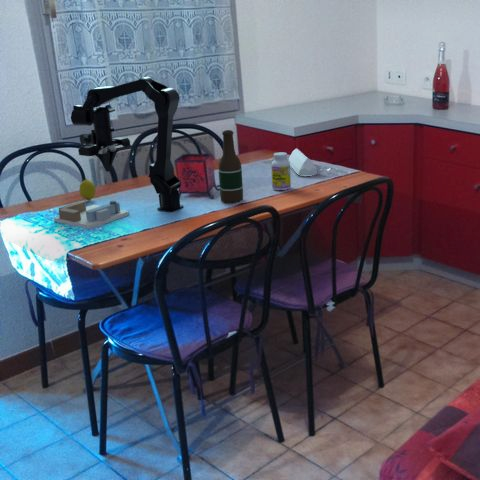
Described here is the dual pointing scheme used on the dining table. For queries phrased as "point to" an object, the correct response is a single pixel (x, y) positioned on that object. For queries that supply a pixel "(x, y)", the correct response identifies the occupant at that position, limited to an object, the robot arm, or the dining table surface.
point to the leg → (112, 206)
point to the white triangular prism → (301, 163)
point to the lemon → (87, 189)
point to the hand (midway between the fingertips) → (107, 171)
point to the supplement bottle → (280, 172)
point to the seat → (77, 215)
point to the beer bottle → (230, 171)
